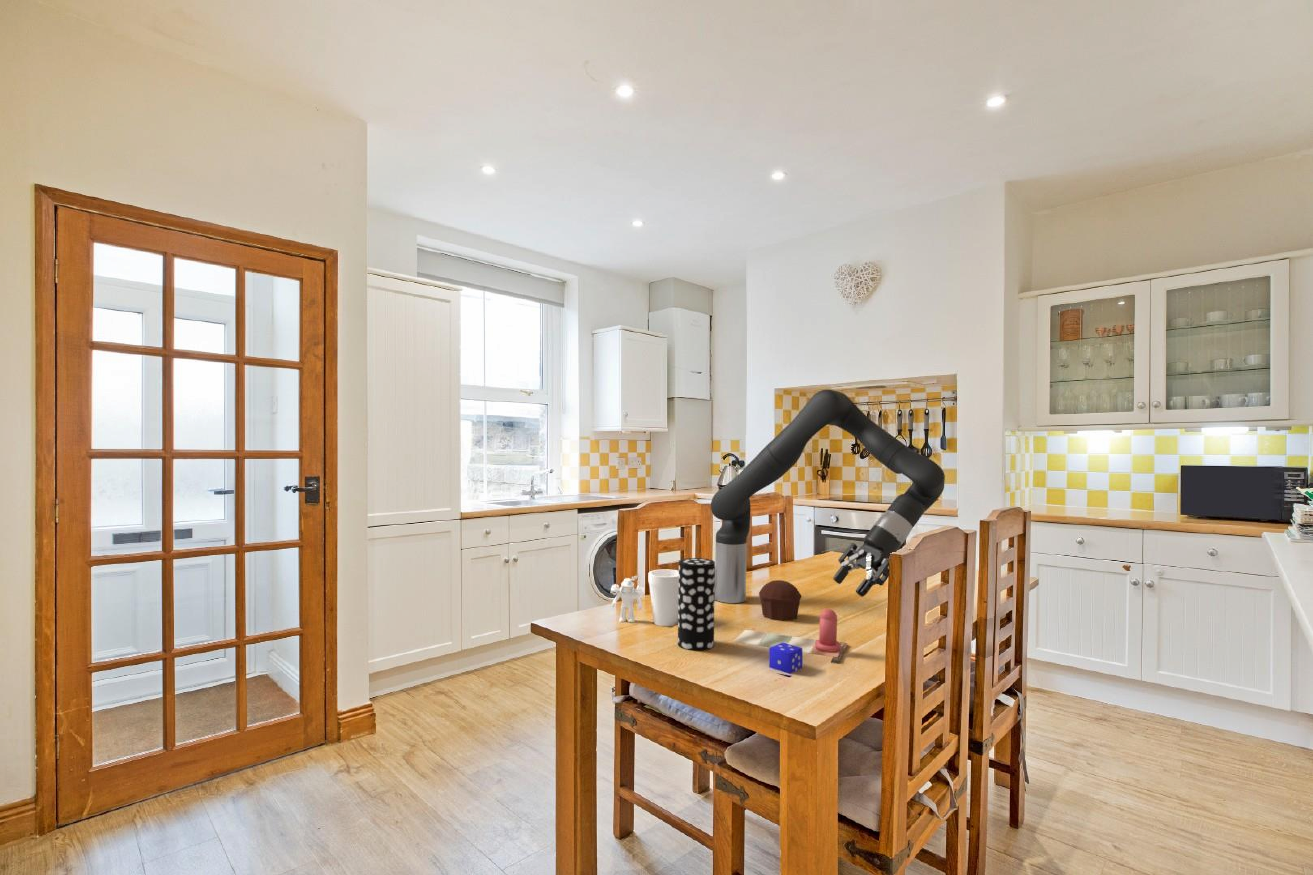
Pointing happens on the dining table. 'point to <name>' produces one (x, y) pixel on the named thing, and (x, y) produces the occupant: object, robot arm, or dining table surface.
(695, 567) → the white-spotted black cylinder
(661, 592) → the foam cup
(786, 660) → the die
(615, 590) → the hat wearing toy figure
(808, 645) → the game track
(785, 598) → the muffin
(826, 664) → the dining table surface
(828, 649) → the pawn
